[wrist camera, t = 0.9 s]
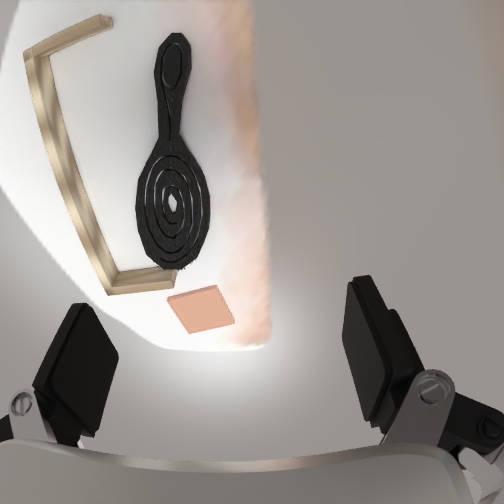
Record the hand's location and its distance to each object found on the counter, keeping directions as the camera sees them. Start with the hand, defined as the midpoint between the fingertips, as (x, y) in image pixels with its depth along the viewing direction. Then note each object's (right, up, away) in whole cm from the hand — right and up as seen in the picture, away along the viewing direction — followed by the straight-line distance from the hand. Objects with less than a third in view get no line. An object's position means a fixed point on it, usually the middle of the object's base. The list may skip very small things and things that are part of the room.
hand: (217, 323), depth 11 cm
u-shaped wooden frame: (-15, +12, +19) cm, 26 cm away
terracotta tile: (-6, -5, +31) cm, 32 cm away
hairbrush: (-7, +13, +19) cm, 24 cm away
